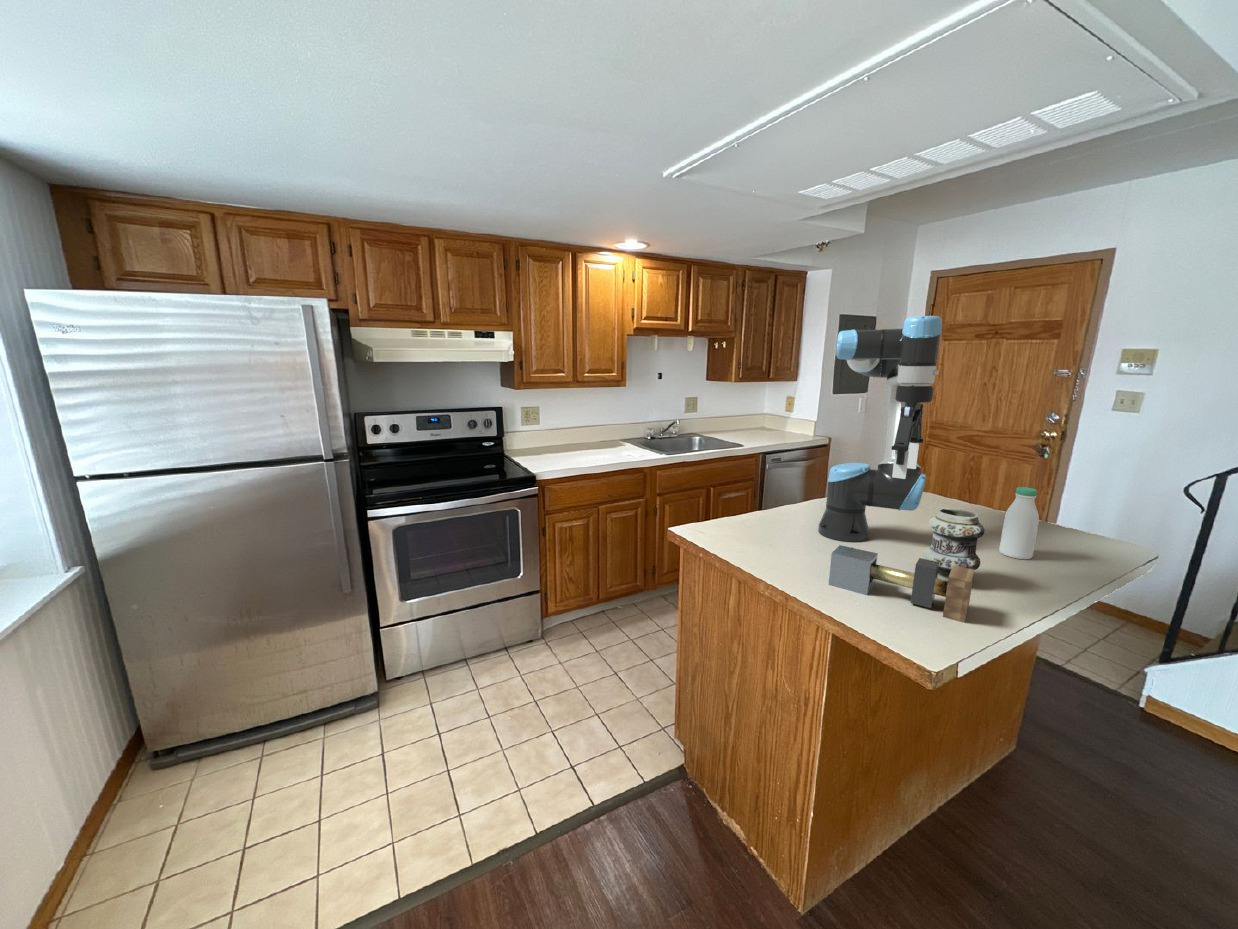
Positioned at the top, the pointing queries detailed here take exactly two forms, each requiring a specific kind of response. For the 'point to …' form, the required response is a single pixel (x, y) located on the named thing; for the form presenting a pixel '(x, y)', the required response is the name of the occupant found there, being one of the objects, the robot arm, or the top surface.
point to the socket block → (958, 593)
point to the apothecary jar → (954, 540)
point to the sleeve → (852, 569)
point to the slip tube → (915, 580)
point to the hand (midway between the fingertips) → (904, 473)
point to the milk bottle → (1020, 525)
